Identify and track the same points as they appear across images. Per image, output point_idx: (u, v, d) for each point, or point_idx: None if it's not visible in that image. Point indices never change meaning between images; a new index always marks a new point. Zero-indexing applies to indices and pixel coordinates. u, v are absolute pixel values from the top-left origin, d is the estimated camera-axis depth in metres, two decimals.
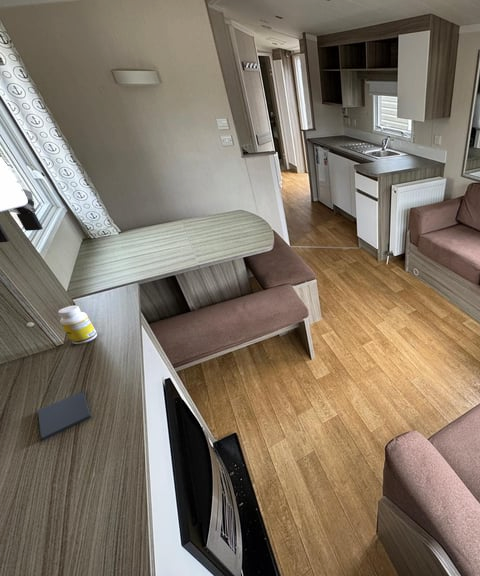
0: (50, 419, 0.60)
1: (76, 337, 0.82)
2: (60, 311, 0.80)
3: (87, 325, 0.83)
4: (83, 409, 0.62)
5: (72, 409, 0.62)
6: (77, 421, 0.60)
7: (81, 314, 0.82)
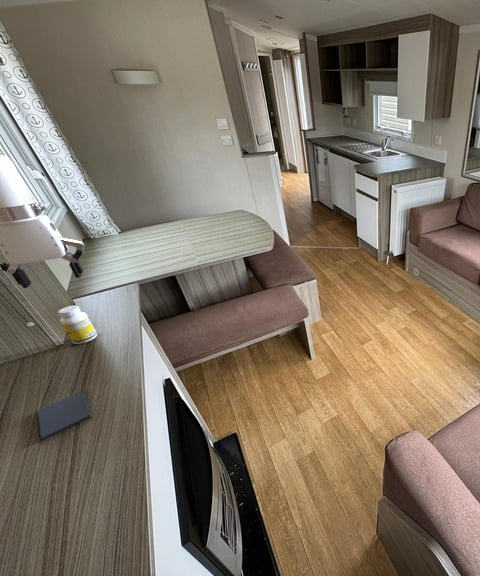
0: (50, 419, 0.60)
1: (76, 337, 0.82)
2: (60, 311, 0.80)
3: (87, 325, 0.83)
4: (83, 409, 0.62)
5: (72, 409, 0.62)
6: (77, 421, 0.60)
7: (81, 314, 0.82)
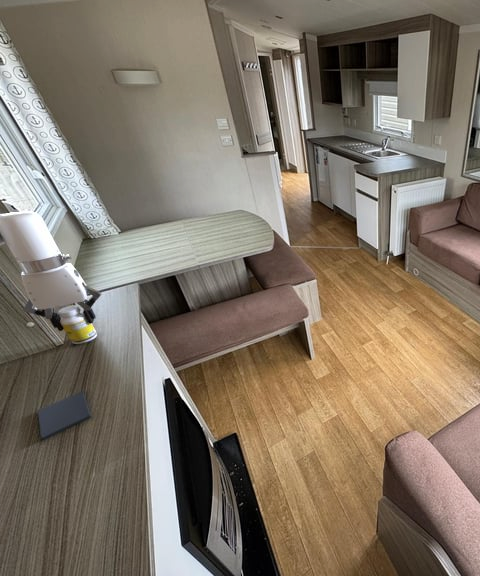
0: (50, 419, 0.60)
1: (76, 337, 0.82)
2: (60, 311, 0.80)
3: (87, 325, 0.83)
4: (83, 409, 0.62)
5: (72, 409, 0.62)
6: (77, 421, 0.60)
7: (81, 314, 0.82)
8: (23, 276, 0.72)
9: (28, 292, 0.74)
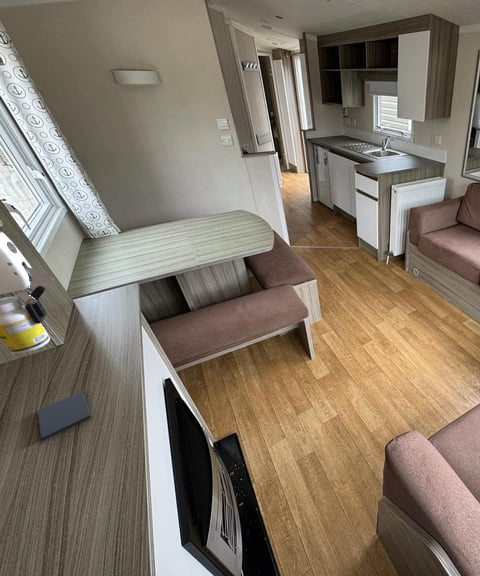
0: (50, 419, 0.60)
1: (14, 343, 0.55)
2: None
3: (33, 326, 0.56)
4: (83, 409, 0.62)
5: (72, 409, 0.62)
6: (77, 421, 0.60)
7: (23, 310, 0.55)
8: None
9: None
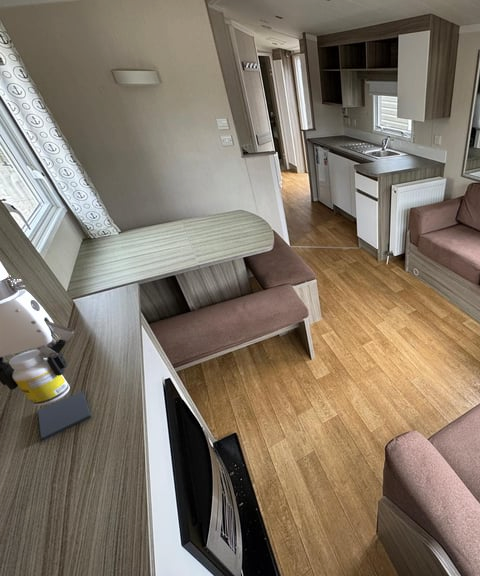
0: (50, 419, 0.60)
1: (36, 396, 0.56)
2: (12, 361, 0.54)
3: (54, 378, 0.57)
4: (83, 409, 0.62)
5: (72, 409, 0.62)
6: (77, 421, 0.60)
7: (45, 363, 0.57)
8: None
9: None
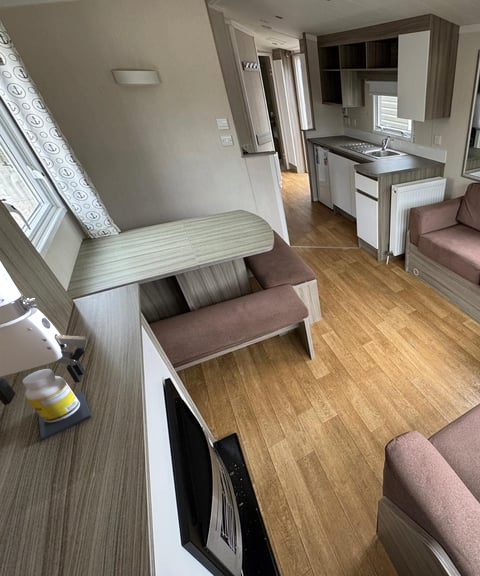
0: None
1: (49, 414, 0.58)
2: (25, 380, 0.56)
3: (65, 396, 0.59)
4: (83, 409, 0.62)
5: None
6: (77, 421, 0.60)
7: (56, 381, 0.59)
8: None
9: None
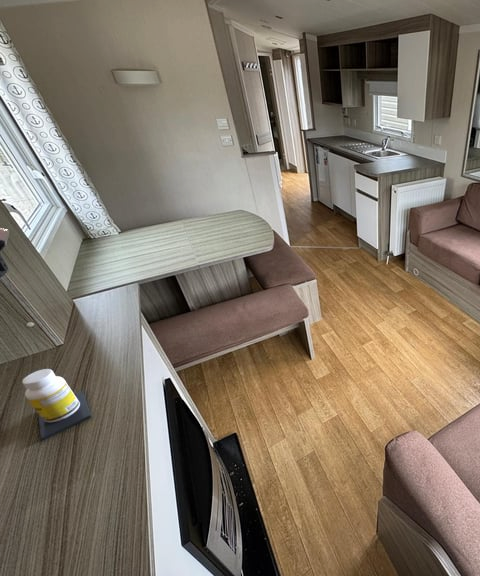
0: None
1: (49, 414, 0.58)
2: (25, 380, 0.56)
3: (65, 396, 0.59)
4: (83, 409, 0.62)
5: None
6: (77, 421, 0.60)
7: (56, 381, 0.59)
8: None
9: None
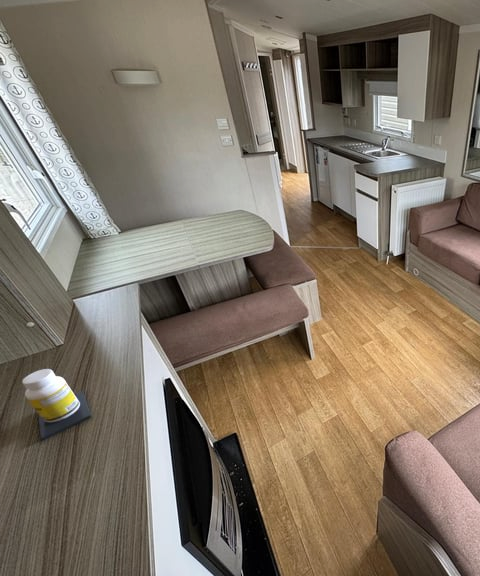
0: None
1: (48, 414, 0.58)
2: (25, 380, 0.56)
3: (65, 396, 0.59)
4: (83, 409, 0.62)
5: None
6: (77, 421, 0.60)
7: (56, 381, 0.59)
8: None
9: None
